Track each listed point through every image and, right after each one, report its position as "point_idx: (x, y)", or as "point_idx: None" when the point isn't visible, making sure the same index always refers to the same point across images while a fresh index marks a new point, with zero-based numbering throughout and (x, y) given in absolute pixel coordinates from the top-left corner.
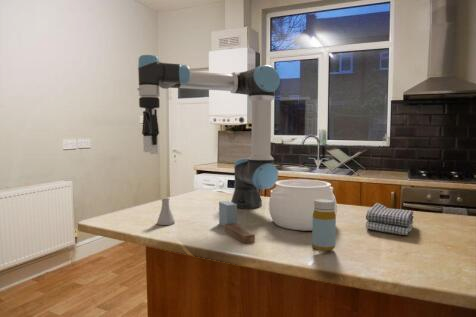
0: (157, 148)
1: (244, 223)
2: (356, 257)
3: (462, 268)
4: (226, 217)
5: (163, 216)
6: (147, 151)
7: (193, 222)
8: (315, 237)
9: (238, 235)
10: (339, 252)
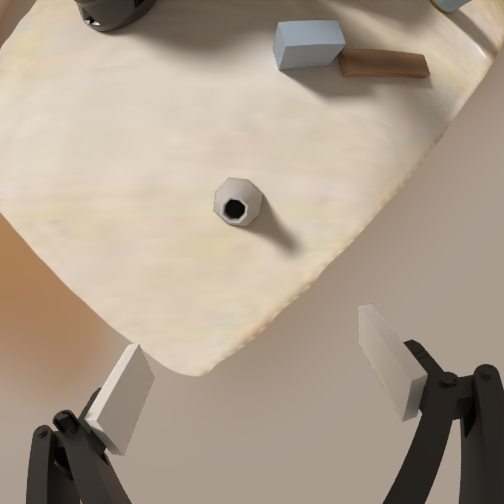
0: (385, 322)
1: None
2: None
3: None
4: (331, 56)
5: (254, 211)
6: (145, 363)
7: (247, 128)
8: (455, 8)
9: (409, 74)
10: None
